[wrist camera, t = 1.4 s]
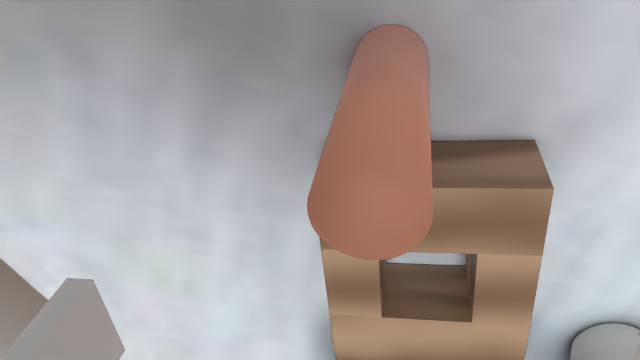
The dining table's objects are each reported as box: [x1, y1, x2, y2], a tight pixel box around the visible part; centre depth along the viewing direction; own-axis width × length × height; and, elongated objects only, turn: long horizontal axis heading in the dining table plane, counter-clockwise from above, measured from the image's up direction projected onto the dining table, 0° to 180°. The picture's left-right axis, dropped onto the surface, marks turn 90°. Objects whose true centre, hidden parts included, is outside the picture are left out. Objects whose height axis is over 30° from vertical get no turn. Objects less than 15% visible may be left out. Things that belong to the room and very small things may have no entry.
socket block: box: [319, 140, 554, 360], centre depth 33 cm, size 18×12×5 cm, turn 6°
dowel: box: [307, 24, 433, 260], centre depth 22 cm, size 4×4×14 cm
